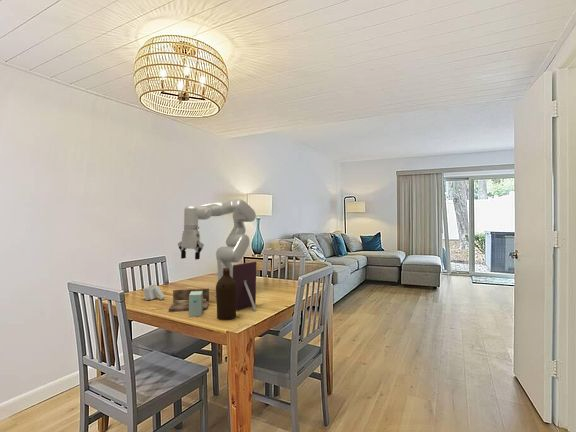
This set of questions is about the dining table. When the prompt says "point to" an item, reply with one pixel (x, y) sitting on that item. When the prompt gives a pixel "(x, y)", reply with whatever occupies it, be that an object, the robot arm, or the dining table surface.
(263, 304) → the dining table surface
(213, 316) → the dining table surface
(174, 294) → the board
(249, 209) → the robot arm
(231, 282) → the olive oil
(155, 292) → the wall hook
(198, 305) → the grey-green rectangular block
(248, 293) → the picture frame
